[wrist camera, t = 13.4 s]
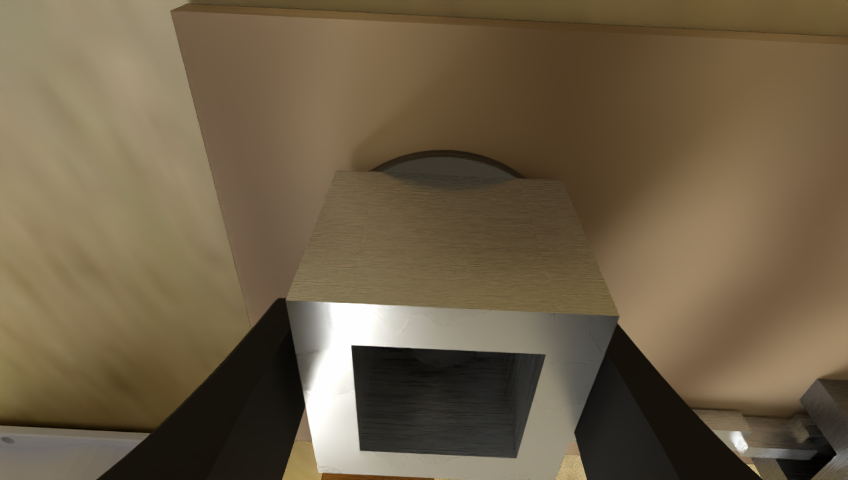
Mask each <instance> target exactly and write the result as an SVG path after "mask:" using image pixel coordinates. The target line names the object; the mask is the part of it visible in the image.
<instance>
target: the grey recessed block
mask: <svg viewBox="0 0 848 480" xmlns="http://www.w3.org/2000/svg"><path fill="white" fill-rule="evenodd" d="M286 305H287V310H288V315H289V321H290V326H291V331H292V336H293V342H294V347H295V352H296V358H297V363H298V368H299V373H300V379H301V384H302V389H303V394H304V400H305V405H306V410H307V416H308V421H309V426H310V431H311V437H312V442H313V447H314V453H315V458H316V463H317V468H318V472H320V473H340V474H361V475H382V476H402V477H423V478H444V479H465V480H555V479H556V476H557V474H558V471H559V469H560V466H561V464H562V461H563V459H564V456H565V454H566V451H567V449H568V446H569V443H570V441H571V438H572V436H573V433H574V431H575V428H576V426H577V423H578V421H579V418H580V416H581V413H582V411H583V408H584V406H585V403H586V400H587V398H588V395H589V393H590V390H591V388H592V385H593V383H594V380H595V378H596V375H597V373H598V370H599V368H600V365H601V363H602V360H603V357H604V355H605V352H606V350H607V347H608V345H609V342H610V340H611V337H612V335H613V332H614V330H615V327H616V325H617V322H618V320H619V317H620V315H619V313H618V311H617V308H616V306H615V303H614V301H613V299H612V296H611V294H610V292H609V289H608V287H607V285H606V282H605V280H604V278H603V275H602V273H601V271H600V268H599V266H598V264H597V261H596V259H595V257H594V254H593V252H592V250H591V247H590V245H589V242H588V240H587V238H586V235H585V233H584V231H583V228H582V226H581V224H580V221H579V219H578V217H577V214H576V212H575V210H574V207H573V205H572V203H571V200H570V198H569V196H568V193H567V191H566V189H565V186H564V184H563V181H562V180H543V179H521V178H497V177H475V176H454V175H432V174H411V173H389V172H368V171H347V170H336V172H335V174H334V177H333V180H332V182H331V185H330V187H329V190H328V192H327V195H326V198H325V200H324V203H323V205H322V208H321V210H320V213H319V216H318V218H317V221H316V223H315V226H314V229H313V231H312V234H311V236H310V239H309V241H308V244H307V247H306V249H305V252H304V254H303V257H302V260H301V262H300V265H299V267H298V270H297V272H296V275H295V278H294V280H293V283H292V285H291V288H290V291H289V293H288V296H287V298H286ZM405 348H423V349H445V350H466V351H477V352H476V354H475V355H474V356H472V357H471V358H470V359H468V360H466V361H464V362H462V363H459V364H456V365H451V366H433V365H428V364H425V363H422V362H420V361H418V360H416V359H414V358H413V357H412V356H410V355H409V354H408V352H407V351H406V350H405Z"/></svg>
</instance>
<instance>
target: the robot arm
mask: <svg viewBox="0 0 848 480" xmlns="http://www.w3.org/2000/svg"><path fill="white" fill-rule="evenodd" d="M305 406H306V405H305V400H304V394H303V389H302V384H301V379H300V373H299V368H298V363H297V358H296V352H295V347H294V342H293V336H292V331H291V326H290V321H289V315H288V310H287V305H286V298H278V299H277V300H275V301H274V302H273V304H272V305H271V306H270V307H269V309H268V310H267V311H266V312H265V313H264V315H263V316H262V317H261V318H260V319H259V321H258V322H257V323H256V324H255V325H254V327H253V328H252V329H251V330H250V331H249V333H248V334H247V335H246V336H245V337H244V338H243V339H242V341H241V342H240V343H239V344H238V345H237V346H236V347H235V349H234V350H233V351H232V352H231V353H230V354H229V355H228V356H227V357H226V358H225V360H224V361H223V362H222V363H221V364H220V365H219V366H218V367H217V368H216V369H215V371H214V372H213V373H212V374H211V375H210V376H209V377H208V378H207V379H206V380H205V381H204V382H203V383H202V384H201V385H200V386H199V387H198V388H197V389H196V390H195V391H194V392H193V393H192V394H191V395H190V396H189V397H188V398H187V399H186V400H185V401H184V402H183V403H182V404H181V405H180V406H179V407H178V408H177V409H176V410H175V411H174V412H173V413H172V414H171V415H170V416H169V417H168V418H167V419H166V420H165V421H164V422H163V423H161V424H160V425H159V426H158V427H157V428H156V429H155V430H154V431H153V432H152V433H135V432H116V431H97V430H77V429H58V428H39V427H19V426H0V480H282V478H283V475H284V472H285V469H286V466H287V463H288V459H289V456H290V453H291V450H292V447H293V444H294V441H295V438H296V435H297V431H298V428H299V425H300V422H301V419H302V416H303V412H304V409H305ZM574 434H575V438H576V442H577V445H578V449H579V453H580V456H581V460H582V463H583V467H584V470H585V474H586V477H587V480H763V479H762V478H761V477H759V476H758V475H757V474H756V473H755V472H754V471H753V470H752V469H751V468H750V467H749V466H747V465H746V464H745V463H744V462H743V461H742V460H741V459H740V458H739V457H738V456H737V455H736V454H735V453H734V452H733V451H732V450H731V449H730V448H729V447H728V446H727V445H726V444H725V443H724V442H723V441H722V440H721V439H720V438H719V437H718V436H717V435H716V434H715V433H714V432H713V431H712V430H711V429H710V428H709V427H708V426H707V425H706V424H705V423H704V422H703V421H702V420H701V419H700V418H699V417H698V415H697V414H696V413H695V412H694V411H693V410H692V409H691V408H690V407H689V406H688V405H687V404H686V402H685V401H684V400H683V399H682V398H681V397H680V396H679V395H678V393H677V392H676V391H675V390H674V389H673V388H672V387H671V386H670V384H669V383H668V382H667V381H666V380H665V379H664V378H663V377H662V375H661V374H660V373H659V372H658V371H657V370H656V368H655V367H654V366H653V365H652V364H651V362H650V361H649V360H648V359H647V358H646V357H645V355H644V354H643V353H642V352H641V351H640V349H639V348H638V347H637V346H636V345H635V343H634V342H633V341H632V340H631V339H630V337H629V336H628V335H627V334H626V333H625V331H624V330H623V329H622V328H621V327H620V325H619V324H618V323H617V325H616V327H615V330H614V332H613V335H612V337H611V340H610V342H609V345H608V347H607V350H606V352H605V355H604V357H603V360H602V363H601V365H600V368H599V370H598V373H597V375H596V378H595V380H594V383H593V385H592V388H591V390H590V393H589V395H588V398H587V400H586V403H585V406H584V408H583V411H582V413H581V416H580V418H579V421H578V423H577V426H576V428H575V431H574Z"/></svg>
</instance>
